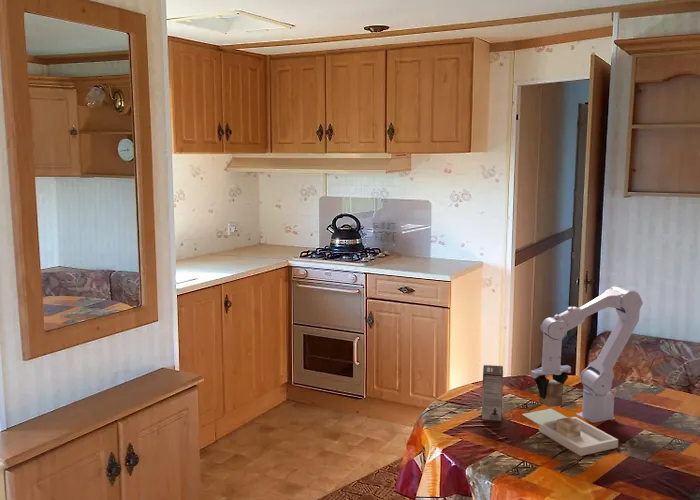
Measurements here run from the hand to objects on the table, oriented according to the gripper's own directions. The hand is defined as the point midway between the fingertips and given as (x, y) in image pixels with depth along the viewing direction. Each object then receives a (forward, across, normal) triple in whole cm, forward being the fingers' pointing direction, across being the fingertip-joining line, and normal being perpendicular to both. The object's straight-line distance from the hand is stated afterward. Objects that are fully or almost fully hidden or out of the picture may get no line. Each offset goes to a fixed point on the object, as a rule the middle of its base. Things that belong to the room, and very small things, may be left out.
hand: (549, 396), depth 211 cm
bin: (+8, -2, -16) cm, 18 cm away
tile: (+8, 0, 0) cm, 8 cm away
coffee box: (+8, -15, +10) cm, 20 cm away
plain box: (+8, -2, -12) cm, 14 cm away
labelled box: (+2, 0, 0) cm, 2 cm away
